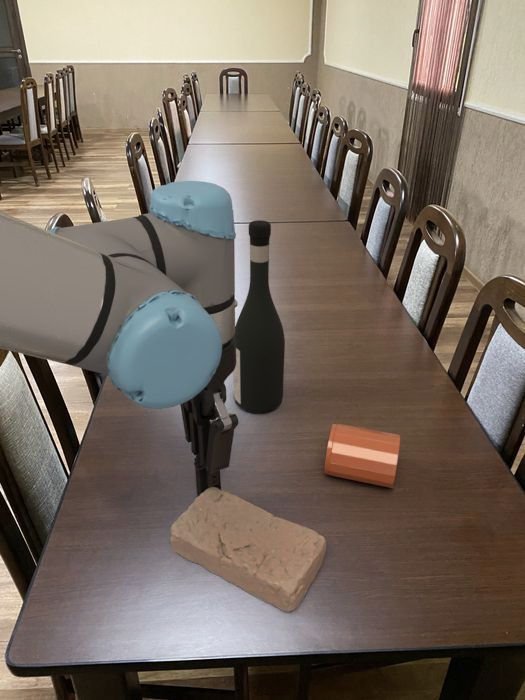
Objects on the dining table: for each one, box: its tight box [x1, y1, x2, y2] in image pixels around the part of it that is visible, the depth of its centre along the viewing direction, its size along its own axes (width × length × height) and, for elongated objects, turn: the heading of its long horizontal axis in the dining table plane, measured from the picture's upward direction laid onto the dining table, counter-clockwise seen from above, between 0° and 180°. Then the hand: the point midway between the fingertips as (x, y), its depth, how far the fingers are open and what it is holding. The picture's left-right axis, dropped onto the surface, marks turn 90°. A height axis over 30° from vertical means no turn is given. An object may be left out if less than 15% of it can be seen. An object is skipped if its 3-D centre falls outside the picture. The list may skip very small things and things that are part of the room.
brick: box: [170, 487, 327, 613], centre depth 61 cm, size 17×8×5 cm, turn 59°
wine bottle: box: [232, 219, 286, 414], centre depth 81 cm, size 8×8×30 cm
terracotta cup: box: [323, 422, 401, 489], centre depth 72 cm, size 7×7×9 cm
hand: (209, 496), depth 69 cm, fingers closed
